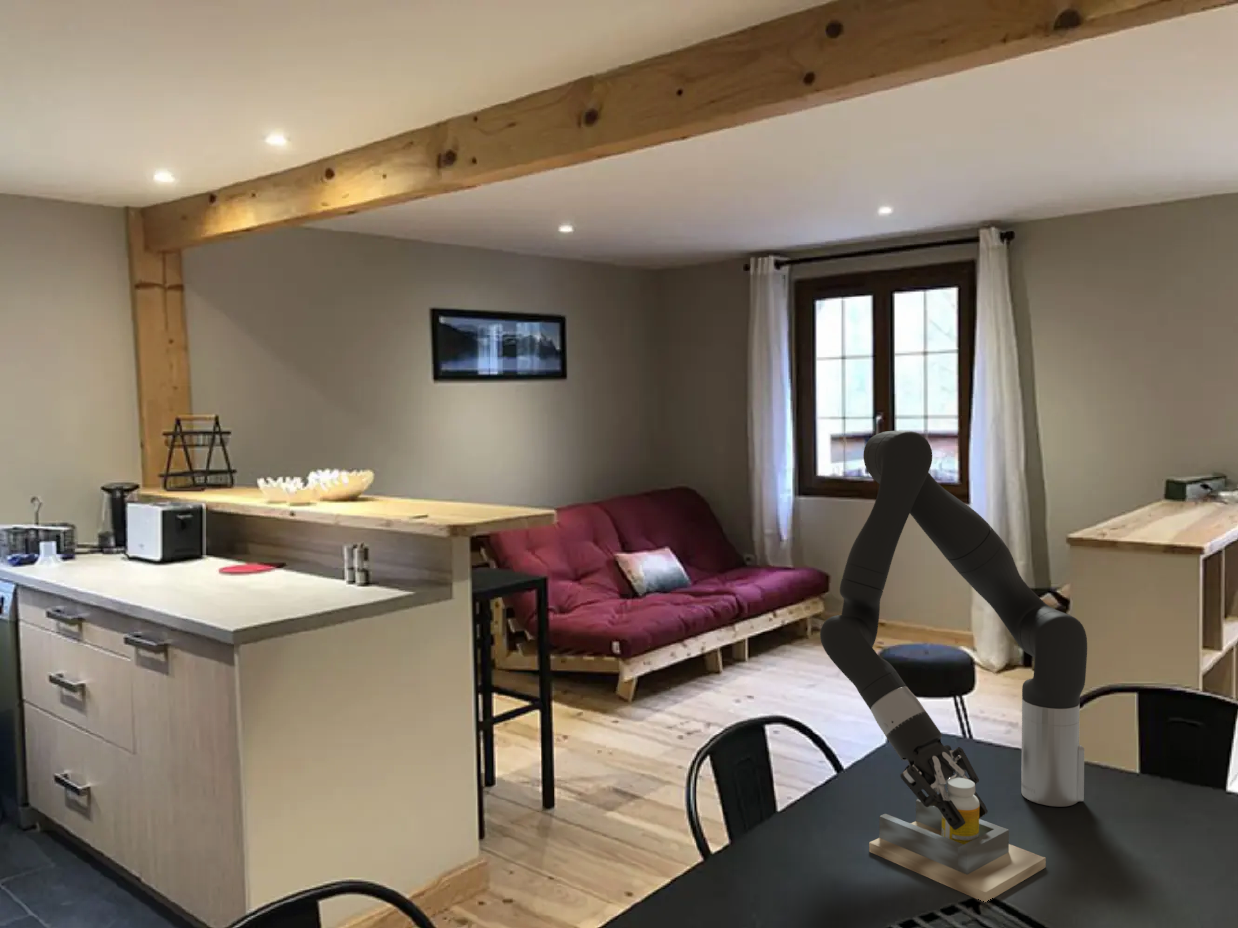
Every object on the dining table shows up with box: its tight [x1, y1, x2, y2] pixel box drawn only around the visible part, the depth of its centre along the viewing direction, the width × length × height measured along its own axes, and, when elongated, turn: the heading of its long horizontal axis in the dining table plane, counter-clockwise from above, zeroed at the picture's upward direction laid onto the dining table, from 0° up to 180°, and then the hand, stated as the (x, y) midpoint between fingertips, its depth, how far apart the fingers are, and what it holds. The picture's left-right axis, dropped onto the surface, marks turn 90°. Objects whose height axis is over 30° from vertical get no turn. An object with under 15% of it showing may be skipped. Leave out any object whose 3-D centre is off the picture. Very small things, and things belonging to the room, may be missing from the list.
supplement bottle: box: [942, 778, 980, 844], centre depth 148 cm, size 5×5×10 cm
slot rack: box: [868, 798, 1047, 903], centre depth 149 cm, size 20×16×5 cm
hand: (971, 820), depth 147 cm, fingers closed on supplement bottle, 5 cm apart
